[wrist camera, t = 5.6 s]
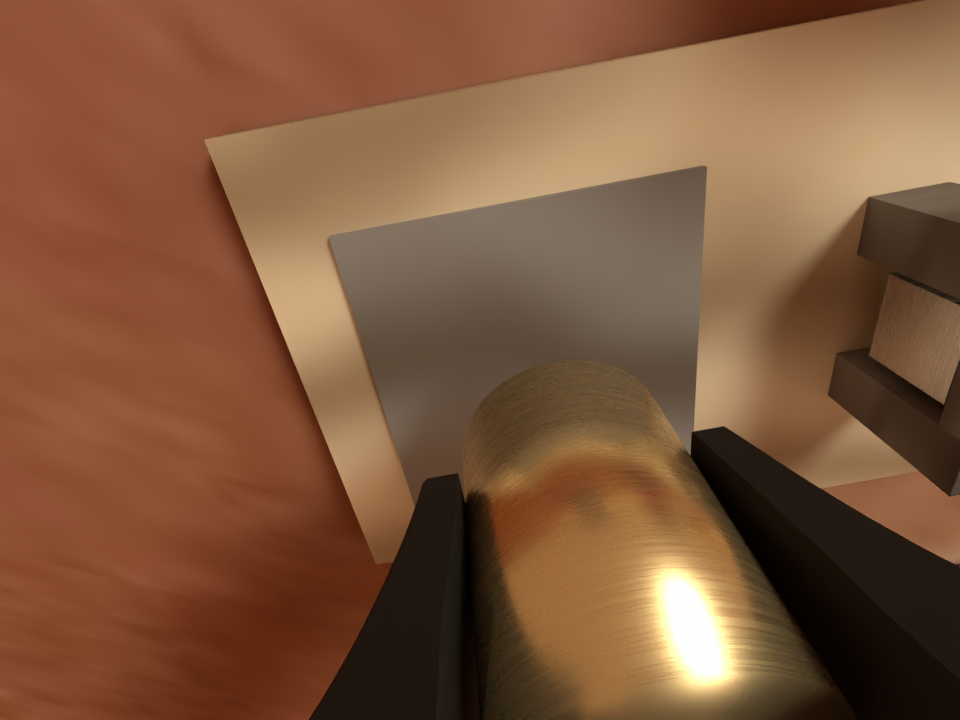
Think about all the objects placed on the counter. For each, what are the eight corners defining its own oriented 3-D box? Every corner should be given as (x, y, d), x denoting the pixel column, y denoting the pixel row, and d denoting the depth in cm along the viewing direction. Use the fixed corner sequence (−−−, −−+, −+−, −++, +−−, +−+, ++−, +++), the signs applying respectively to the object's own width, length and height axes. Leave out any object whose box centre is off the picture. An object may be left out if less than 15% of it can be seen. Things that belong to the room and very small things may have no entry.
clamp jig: (1150, 408, 18) (1390, 522, 14) (379, 541, 19) (358, 693, 14) (1454, -104, 11) (2154, -226, 7) (221, 134, 12) (84, 173, 7)
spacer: (660, 498, 12) (822, 817, 7) (480, 530, 12) (511, 866, 7) (662, 341, 10) (901, 641, 5) (443, 382, 10) (449, 717, 5)
